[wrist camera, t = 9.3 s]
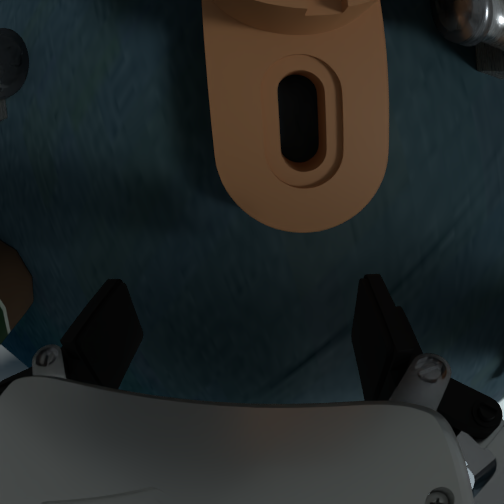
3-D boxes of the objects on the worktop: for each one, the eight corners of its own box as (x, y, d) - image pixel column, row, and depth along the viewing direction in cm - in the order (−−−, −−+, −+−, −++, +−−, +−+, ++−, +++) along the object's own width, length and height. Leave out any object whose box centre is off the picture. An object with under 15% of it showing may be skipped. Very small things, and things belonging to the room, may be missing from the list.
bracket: (207, -61, 9) (178, -122, 3) (349, -62, 9) (384, -118, 3) (229, 216, 18) (209, 281, 12) (367, 211, 17) (413, 271, 11)
